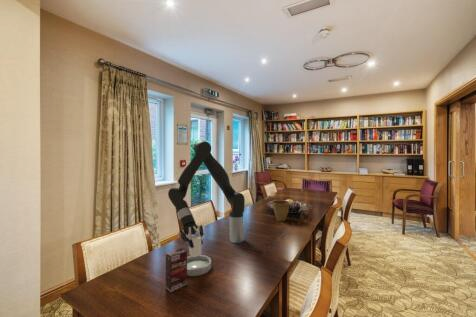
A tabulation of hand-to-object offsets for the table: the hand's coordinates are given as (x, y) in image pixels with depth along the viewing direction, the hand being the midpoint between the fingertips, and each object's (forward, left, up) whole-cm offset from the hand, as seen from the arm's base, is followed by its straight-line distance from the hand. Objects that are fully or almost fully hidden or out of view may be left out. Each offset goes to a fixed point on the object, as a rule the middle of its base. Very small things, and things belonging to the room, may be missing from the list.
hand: (197, 245), depth 118 cm
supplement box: (+15, +7, -12) cm, 21 cm away
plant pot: (-98, -24, -12) cm, 102 cm away
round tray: (0, -2, -12) cm, 12 cm away
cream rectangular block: (0, -2, -5) cm, 5 cm away
